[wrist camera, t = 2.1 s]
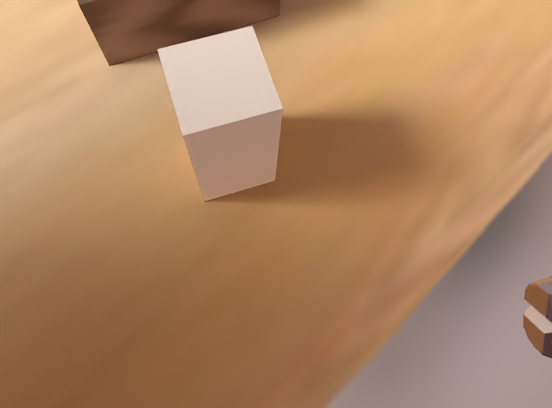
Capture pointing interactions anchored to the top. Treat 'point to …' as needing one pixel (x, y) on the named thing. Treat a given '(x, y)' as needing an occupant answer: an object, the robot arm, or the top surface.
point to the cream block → (225, 110)
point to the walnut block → (166, 22)
